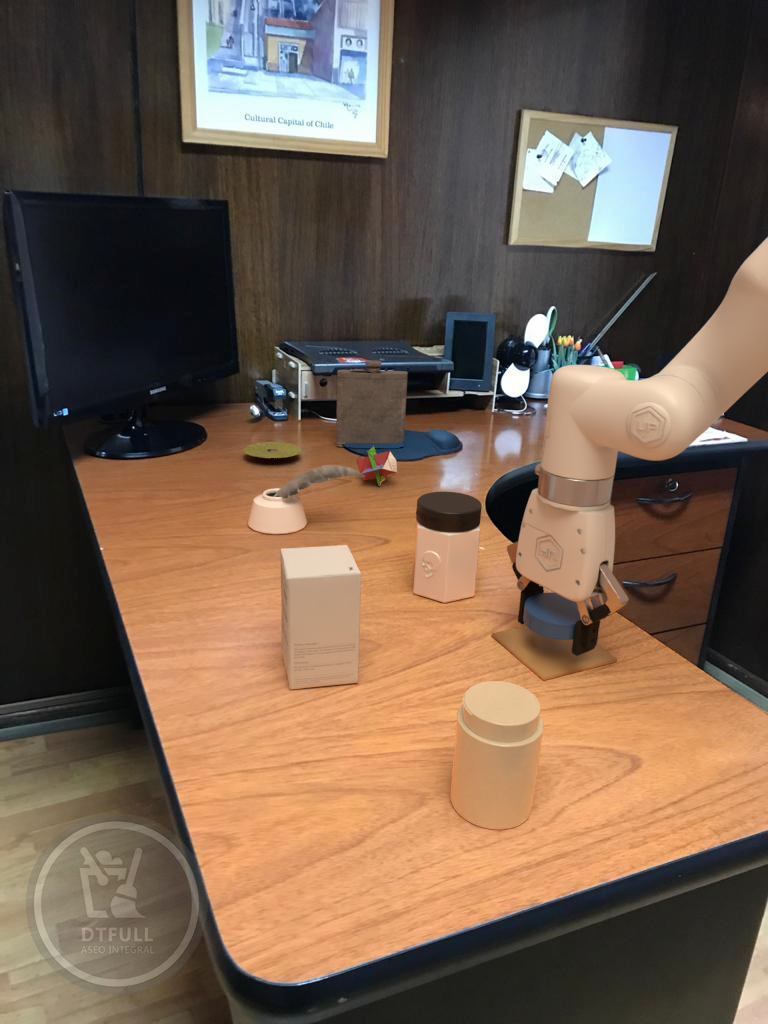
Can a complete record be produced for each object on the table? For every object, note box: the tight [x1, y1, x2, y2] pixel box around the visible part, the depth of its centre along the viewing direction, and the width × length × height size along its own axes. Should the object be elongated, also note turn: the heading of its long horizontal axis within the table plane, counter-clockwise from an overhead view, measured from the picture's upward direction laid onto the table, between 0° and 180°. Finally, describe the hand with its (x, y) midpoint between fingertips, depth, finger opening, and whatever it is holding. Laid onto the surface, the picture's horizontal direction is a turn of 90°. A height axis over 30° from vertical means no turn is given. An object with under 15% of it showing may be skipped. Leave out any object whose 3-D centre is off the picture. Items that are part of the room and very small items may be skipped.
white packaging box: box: [279, 544, 362, 691], centre depth 79 cm, size 7×7×13 cm
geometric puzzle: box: [355, 445, 398, 486], centre depth 139 cm, size 7×7×8 cm
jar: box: [412, 491, 482, 604], centre depth 99 cm, size 9×8×12 cm
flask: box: [335, 359, 409, 445], centre depth 159 cm, size 4×14×18 cm, turn 96°
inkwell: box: [247, 464, 365, 535], centre depth 118 cm, size 9×18×10 cm, turn 92°
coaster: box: [490, 625, 618, 682], centre depth 87 cm, size 10×10×1 cm
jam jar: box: [449, 680, 545, 831], centre depth 62 cm, size 7×7×10 cm
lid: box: [523, 591, 593, 640], centre depth 86 cm, size 8×8×2 cm
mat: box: [242, 441, 302, 459], centre depth 151 cm, size 11×11×2 cm
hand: (555, 634), depth 87 cm, fingers closed on lid, 7 cm apart
